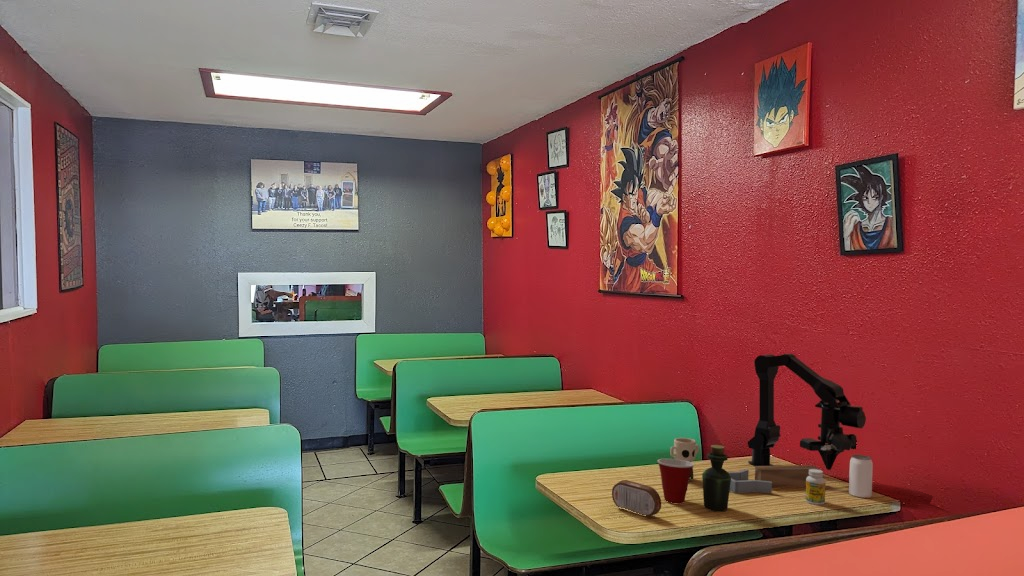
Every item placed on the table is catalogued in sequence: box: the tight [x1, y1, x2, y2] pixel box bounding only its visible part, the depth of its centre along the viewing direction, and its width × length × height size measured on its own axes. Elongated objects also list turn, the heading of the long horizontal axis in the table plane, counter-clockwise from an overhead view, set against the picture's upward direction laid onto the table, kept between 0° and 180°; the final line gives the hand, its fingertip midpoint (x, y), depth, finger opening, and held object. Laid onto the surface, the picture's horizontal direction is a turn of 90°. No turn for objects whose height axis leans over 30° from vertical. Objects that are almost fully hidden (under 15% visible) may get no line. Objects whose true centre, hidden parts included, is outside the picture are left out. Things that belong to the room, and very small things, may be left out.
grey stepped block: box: [728, 468, 773, 494], centre depth 226 cm, size 12×15×4 cm
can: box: [848, 454, 874, 499], centre depth 221 cm, size 6×6×12 cm
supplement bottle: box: [805, 469, 826, 506], centre depth 213 cm, size 5×5×10 cm
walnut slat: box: [754, 464, 820, 488], centre depth 230 cm, size 4×20×6 cm, turn 97°
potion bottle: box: [701, 444, 731, 513], centre depth 205 cm, size 8×8×18 cm
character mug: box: [669, 437, 700, 481], centre depth 234 cm, size 11×7×13 cm, turn 111°
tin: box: [611, 479, 662, 518], centre depth 200 cm, size 15×3×8 cm, turn 48°
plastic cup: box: [656, 458, 695, 504], centre depth 211 cm, size 11×11×12 cm
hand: (828, 469), depth 233 cm, fingers closed
